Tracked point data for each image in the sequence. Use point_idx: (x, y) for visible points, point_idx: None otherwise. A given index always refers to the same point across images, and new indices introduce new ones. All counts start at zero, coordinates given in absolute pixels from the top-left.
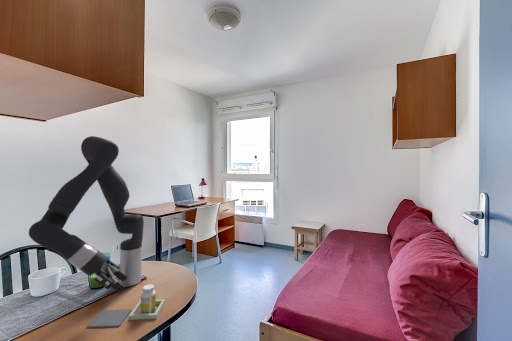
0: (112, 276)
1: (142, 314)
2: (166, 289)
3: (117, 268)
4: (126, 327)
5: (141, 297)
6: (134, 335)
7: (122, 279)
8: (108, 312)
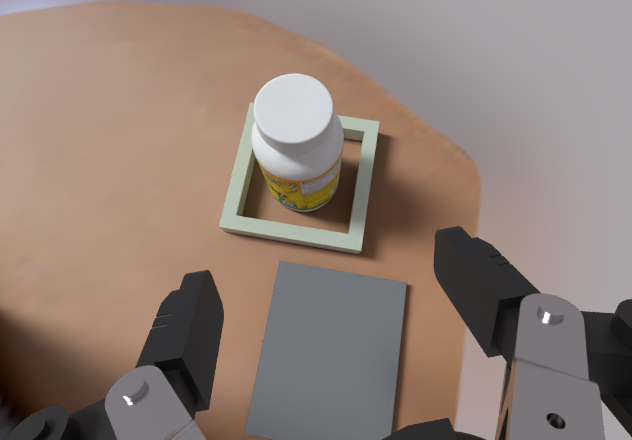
0: (588, 381)
1: (363, 185)
2: (121, 122)
3: (75, 438)
4: (415, 249)
5: (325, 171)
6: (474, 200)
7: (216, 317)
8: (279, 383)
